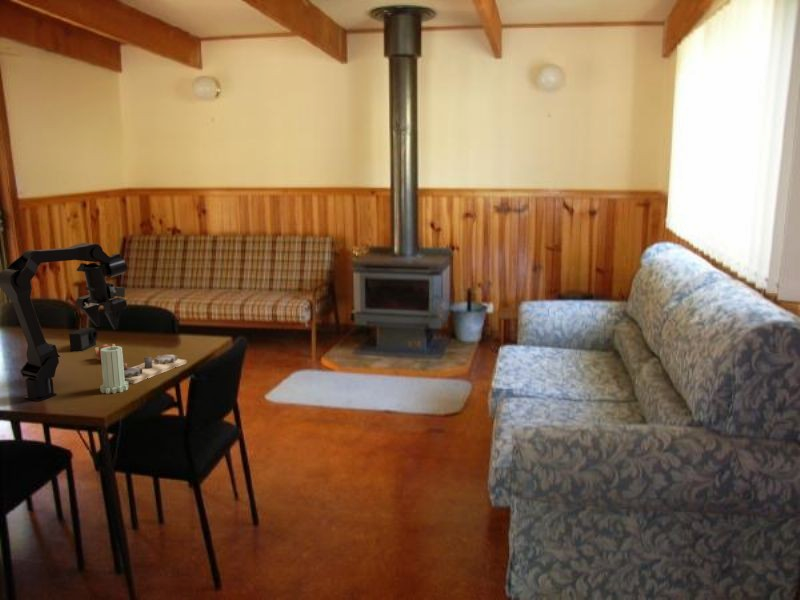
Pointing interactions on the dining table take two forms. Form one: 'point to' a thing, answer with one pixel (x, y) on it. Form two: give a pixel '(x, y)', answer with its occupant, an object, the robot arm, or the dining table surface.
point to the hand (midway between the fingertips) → (107, 327)
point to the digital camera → (83, 339)
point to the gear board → (154, 370)
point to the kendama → (100, 349)
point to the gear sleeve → (113, 370)
